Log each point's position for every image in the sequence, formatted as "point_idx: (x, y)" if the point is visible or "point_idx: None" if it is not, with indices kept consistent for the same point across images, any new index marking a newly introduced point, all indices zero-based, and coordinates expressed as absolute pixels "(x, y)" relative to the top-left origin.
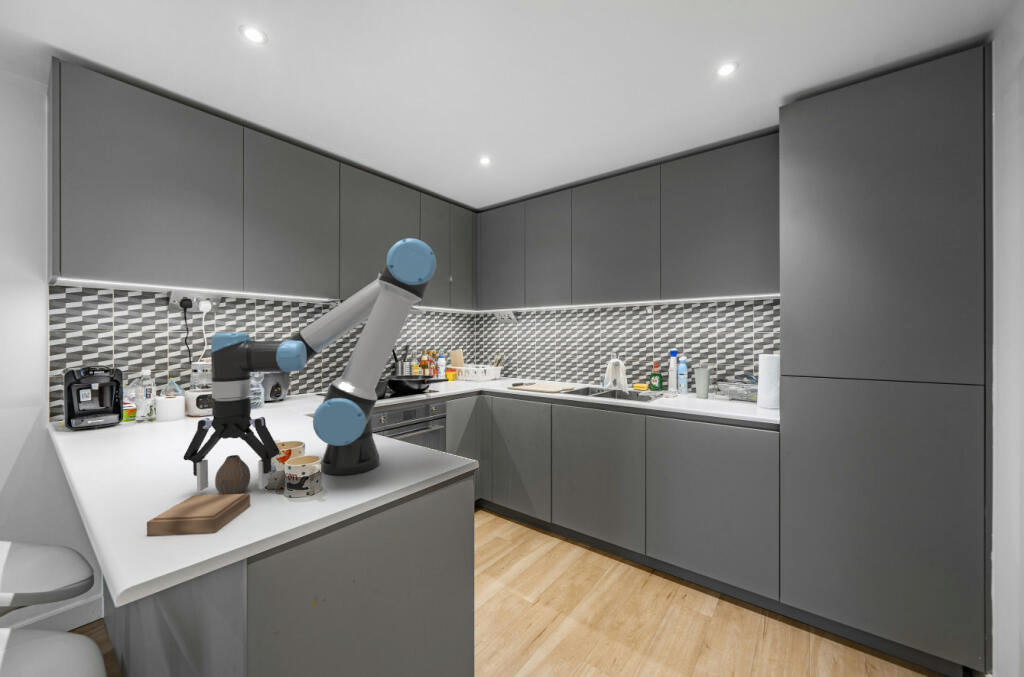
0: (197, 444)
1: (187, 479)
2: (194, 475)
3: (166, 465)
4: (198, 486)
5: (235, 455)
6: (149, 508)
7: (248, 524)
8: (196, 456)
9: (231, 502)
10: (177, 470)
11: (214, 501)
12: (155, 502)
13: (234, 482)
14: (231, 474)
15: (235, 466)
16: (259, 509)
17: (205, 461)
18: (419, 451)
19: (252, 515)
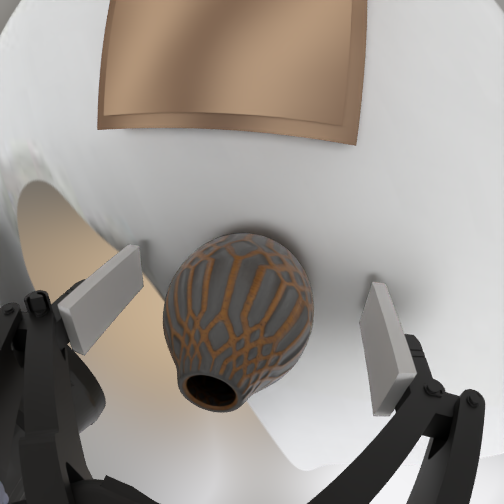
0: (433, 482)
1: None
2: (413, 335)
3: None
4: (384, 294)
5: (207, 406)
6: (492, 198)
7: (83, 4)
8: (426, 408)
9: (113, 28)
10: None
11: (185, 31)
12: (490, 252)
13: (201, 249)
14: (201, 271)
15: (184, 317)
16: (88, 98)
17: (379, 400)
18: None
19: (90, 55)
